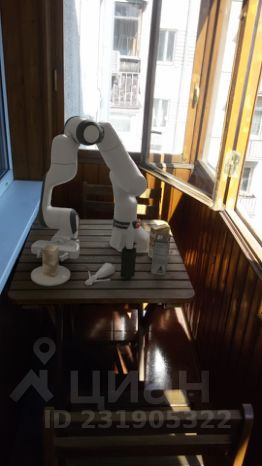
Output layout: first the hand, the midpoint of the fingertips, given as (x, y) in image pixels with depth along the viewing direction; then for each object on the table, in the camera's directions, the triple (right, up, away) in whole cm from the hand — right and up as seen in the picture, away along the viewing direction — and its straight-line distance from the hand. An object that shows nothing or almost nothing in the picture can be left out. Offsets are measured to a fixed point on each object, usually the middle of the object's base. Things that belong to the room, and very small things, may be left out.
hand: (49, 257), depth 158 cm
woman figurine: (+20, -9, +6) cm, 23 cm away
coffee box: (+46, -7, +16) cm, 49 cm away
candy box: (+46, -1, +29) cm, 54 cm away
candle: (+31, -8, +9) cm, 34 cm away
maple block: (0, -7, +4) cm, 8 cm away
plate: (0, -8, +4) cm, 9 cm away
